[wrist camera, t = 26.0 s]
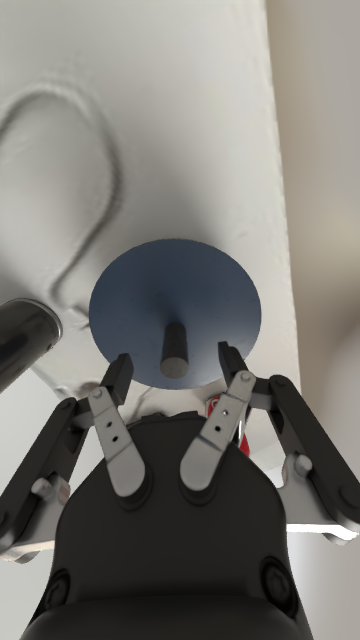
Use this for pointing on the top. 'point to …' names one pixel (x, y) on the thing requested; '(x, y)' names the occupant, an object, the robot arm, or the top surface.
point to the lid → (174, 312)
